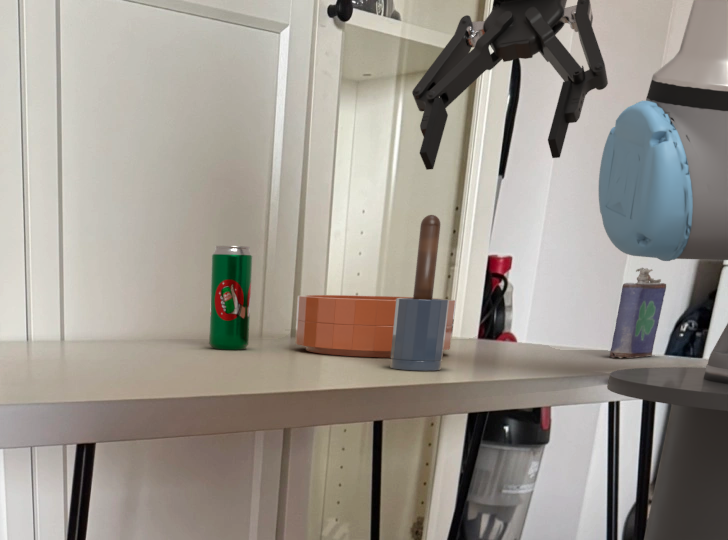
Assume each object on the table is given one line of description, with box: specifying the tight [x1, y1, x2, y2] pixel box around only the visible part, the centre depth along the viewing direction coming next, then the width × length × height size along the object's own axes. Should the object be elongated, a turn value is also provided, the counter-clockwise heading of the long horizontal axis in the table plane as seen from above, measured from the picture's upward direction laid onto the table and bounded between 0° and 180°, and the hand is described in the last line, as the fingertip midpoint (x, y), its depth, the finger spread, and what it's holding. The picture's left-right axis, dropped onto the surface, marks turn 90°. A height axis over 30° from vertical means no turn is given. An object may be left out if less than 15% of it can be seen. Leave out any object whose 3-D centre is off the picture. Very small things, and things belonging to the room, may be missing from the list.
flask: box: [609, 267, 667, 359], centre depth 133 cm, size 9×3×11 cm, turn 132°
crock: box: [389, 298, 449, 372], centre depth 110 cm, size 5×6×7 cm
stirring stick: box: [412, 214, 441, 300], centre depth 108 cm, size 2×2×14 cm
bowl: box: [294, 294, 457, 359], centre depth 131 cm, size 20×20×6 cm
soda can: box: [208, 245, 253, 351], centre depth 130 cm, size 5×5×12 cm
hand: (487, 155), depth 108 cm, fingers open, 13 cm apart
